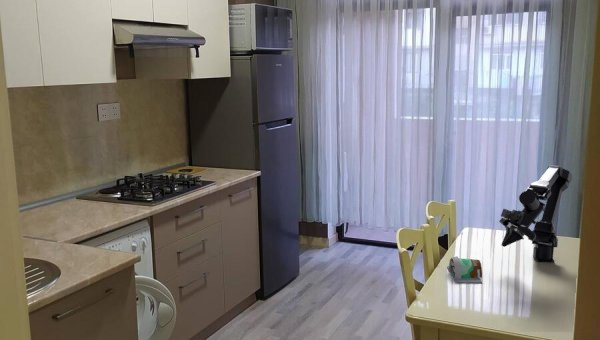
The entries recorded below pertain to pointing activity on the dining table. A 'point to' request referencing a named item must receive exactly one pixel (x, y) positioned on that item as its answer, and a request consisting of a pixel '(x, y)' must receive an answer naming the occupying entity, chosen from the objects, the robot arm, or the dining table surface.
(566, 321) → the dining table surface
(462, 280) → the grey rubber mat
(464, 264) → the food container
